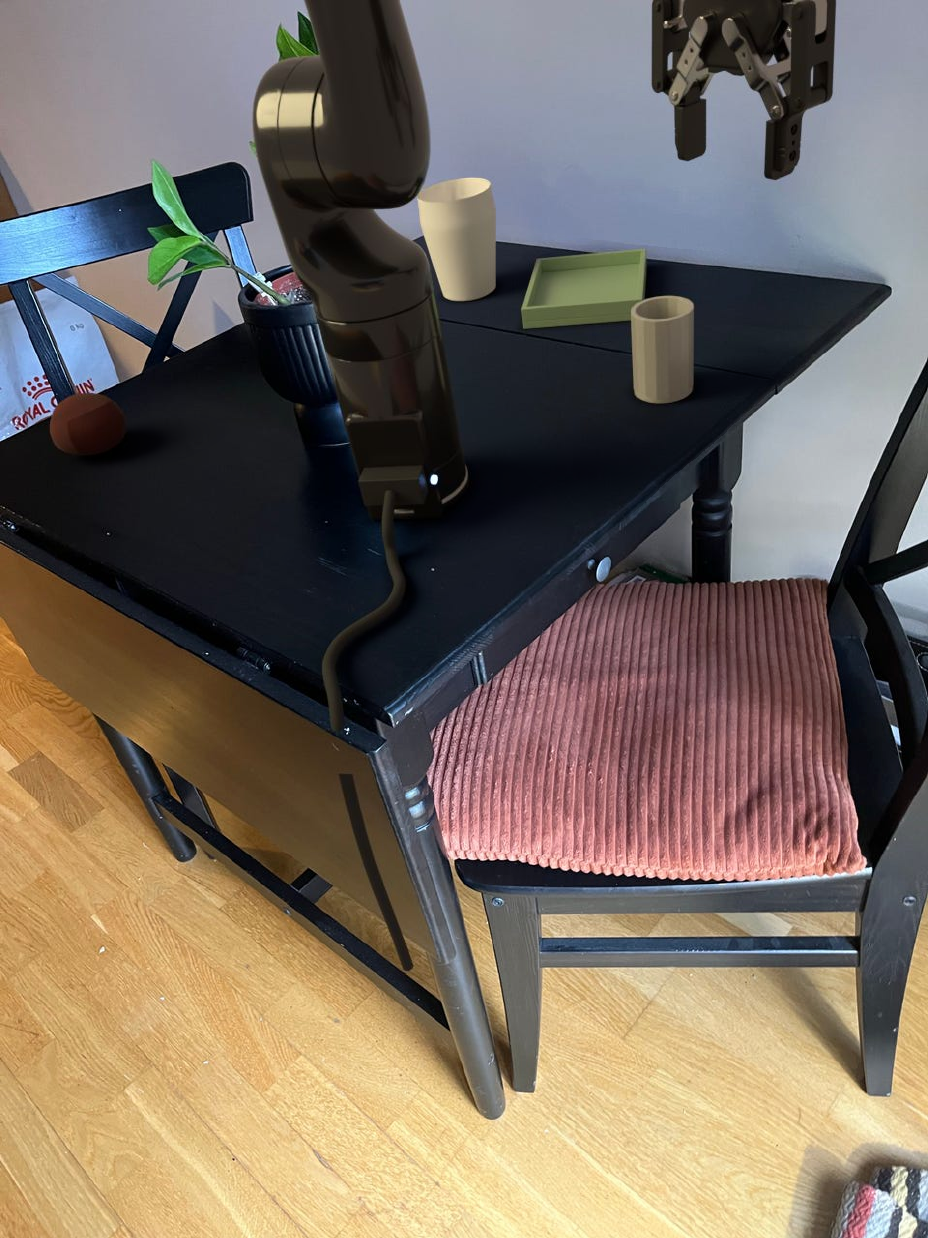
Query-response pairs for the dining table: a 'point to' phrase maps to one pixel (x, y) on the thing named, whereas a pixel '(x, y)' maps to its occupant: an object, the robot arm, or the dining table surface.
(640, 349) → the tumbler
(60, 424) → the potato
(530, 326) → the tray
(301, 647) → the dining table surface
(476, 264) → the cup
